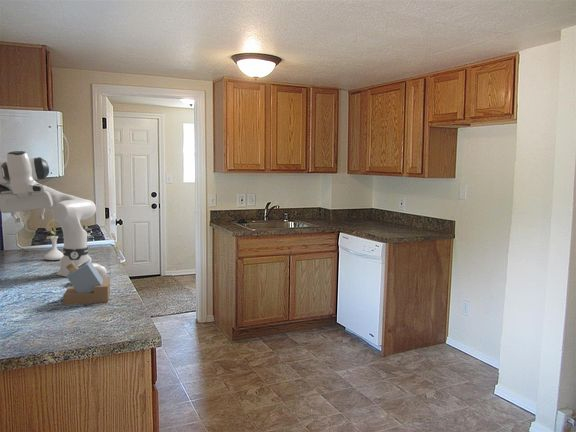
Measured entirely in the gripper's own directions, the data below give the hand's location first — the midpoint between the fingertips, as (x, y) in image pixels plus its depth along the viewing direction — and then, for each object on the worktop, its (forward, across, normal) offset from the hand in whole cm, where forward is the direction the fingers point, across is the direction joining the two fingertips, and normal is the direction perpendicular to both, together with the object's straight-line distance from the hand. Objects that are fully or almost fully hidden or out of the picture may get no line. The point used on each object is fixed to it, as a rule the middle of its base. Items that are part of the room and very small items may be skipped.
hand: (29, 220), depth 203 cm
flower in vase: (+31, -14, +78) cm, 85 cm away
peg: (+30, +21, -10) cm, 38 cm away
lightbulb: (+36, +22, +6) cm, 43 cm away
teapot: (+35, +15, +20) cm, 44 cm away
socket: (+36, +20, -10) cm, 42 cm away
